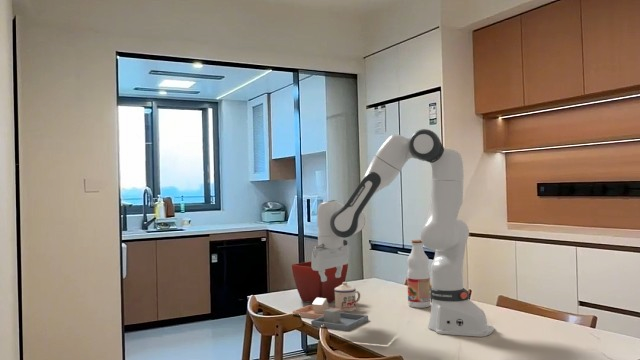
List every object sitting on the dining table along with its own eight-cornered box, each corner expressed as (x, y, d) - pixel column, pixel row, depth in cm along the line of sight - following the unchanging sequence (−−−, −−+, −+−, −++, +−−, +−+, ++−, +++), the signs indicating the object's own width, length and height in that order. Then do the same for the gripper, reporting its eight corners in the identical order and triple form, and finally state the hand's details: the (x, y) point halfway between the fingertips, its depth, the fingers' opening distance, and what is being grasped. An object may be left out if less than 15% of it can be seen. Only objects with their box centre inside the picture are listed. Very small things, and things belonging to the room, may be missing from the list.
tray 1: (341, 314, 210) (341, 308, 210) (325, 321, 200) (325, 315, 200) (309, 310, 218) (309, 305, 218) (292, 317, 208) (292, 311, 208)
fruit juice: (430, 308, 216) (428, 241, 217) (407, 308, 218) (405, 241, 219) (430, 303, 225) (428, 238, 226) (408, 303, 227) (406, 239, 228)
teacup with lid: (342, 313, 212) (341, 285, 212) (330, 309, 220) (329, 281, 220) (366, 309, 218) (365, 281, 218) (354, 305, 225) (353, 278, 226)
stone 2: (340, 321, 197) (340, 309, 197) (333, 324, 193) (332, 311, 194) (331, 319, 200) (331, 308, 200) (323, 322, 196) (323, 310, 196)
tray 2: (368, 321, 198) (368, 315, 198) (347, 332, 184) (347, 325, 184) (333, 317, 206) (333, 311, 206) (311, 327, 192) (311, 320, 192)
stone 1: (324, 314, 209) (322, 304, 207) (314, 313, 211) (312, 304, 209) (328, 307, 213) (326, 298, 211) (318, 306, 215) (316, 297, 213)
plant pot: (350, 299, 238) (349, 262, 238) (321, 307, 224) (320, 268, 224) (320, 294, 251) (319, 259, 251) (291, 301, 237) (290, 264, 238)
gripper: (320, 246, 188) (321, 284, 188) (350, 240, 205) (352, 275, 204) (306, 245, 192) (308, 283, 192) (337, 240, 209) (339, 274, 208)
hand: (331, 279), depth 198 cm, fingers open, 8 cm apart
